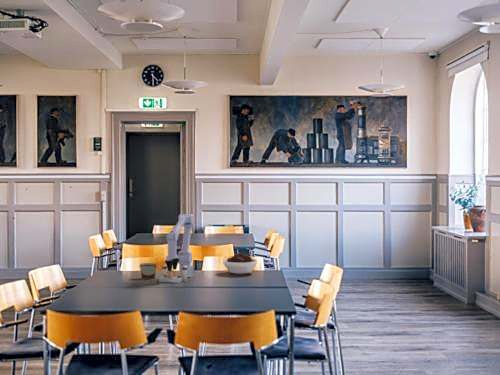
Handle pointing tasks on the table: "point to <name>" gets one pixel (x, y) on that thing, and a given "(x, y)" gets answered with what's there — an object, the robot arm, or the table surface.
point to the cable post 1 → (164, 270)
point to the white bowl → (240, 264)
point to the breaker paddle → (170, 274)
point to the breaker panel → (171, 279)
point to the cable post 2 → (184, 273)
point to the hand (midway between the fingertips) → (172, 270)
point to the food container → (148, 270)
